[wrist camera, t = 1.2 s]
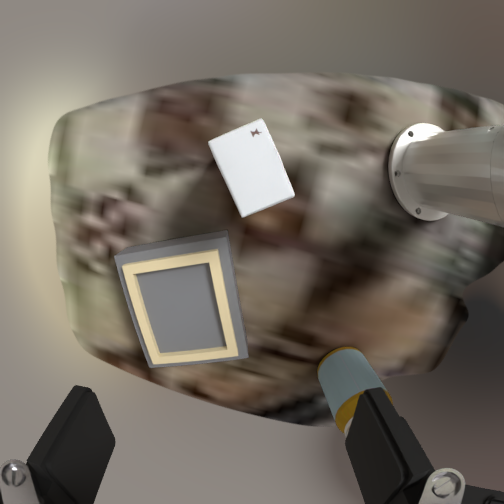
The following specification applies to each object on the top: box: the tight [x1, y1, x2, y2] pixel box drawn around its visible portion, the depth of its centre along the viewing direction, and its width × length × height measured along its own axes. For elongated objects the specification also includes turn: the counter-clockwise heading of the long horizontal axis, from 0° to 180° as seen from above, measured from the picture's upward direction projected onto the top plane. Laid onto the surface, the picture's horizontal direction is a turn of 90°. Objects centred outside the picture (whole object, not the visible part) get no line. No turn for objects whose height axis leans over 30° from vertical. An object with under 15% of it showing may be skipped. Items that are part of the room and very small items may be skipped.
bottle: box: [317, 347, 393, 437], centre depth 30 cm, size 7×7×15 cm
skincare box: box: [208, 119, 295, 218], centre depth 25 cm, size 6×4×12 cm
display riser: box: [114, 230, 249, 368], centre depth 31 cm, size 12×14×5 cm
